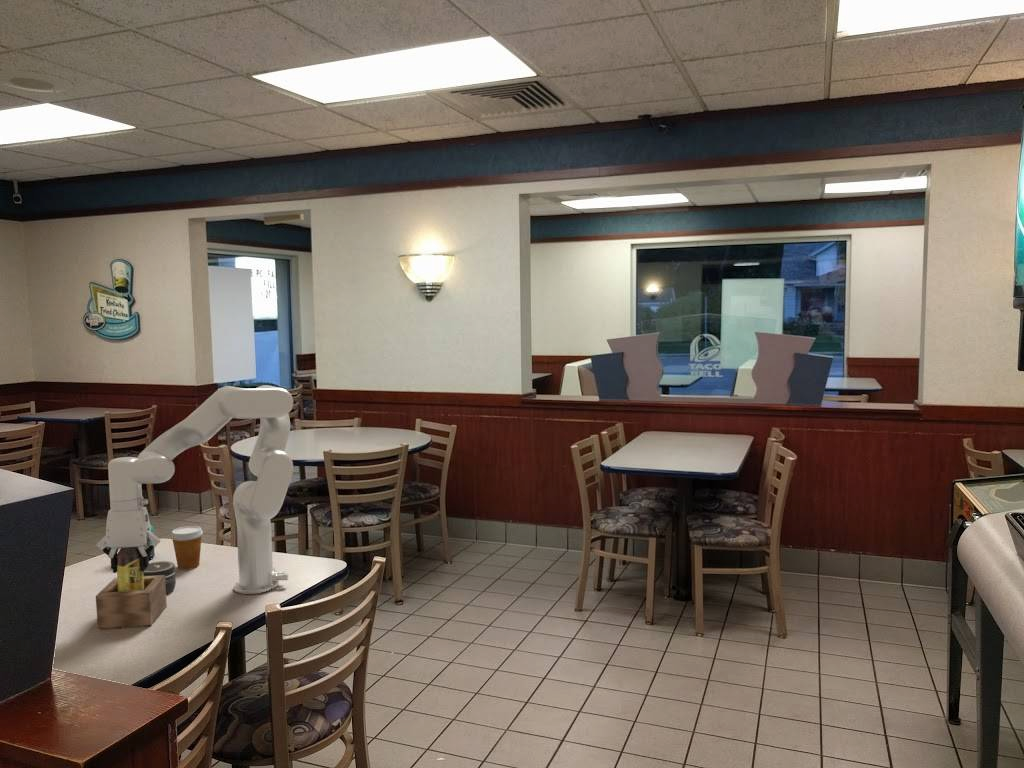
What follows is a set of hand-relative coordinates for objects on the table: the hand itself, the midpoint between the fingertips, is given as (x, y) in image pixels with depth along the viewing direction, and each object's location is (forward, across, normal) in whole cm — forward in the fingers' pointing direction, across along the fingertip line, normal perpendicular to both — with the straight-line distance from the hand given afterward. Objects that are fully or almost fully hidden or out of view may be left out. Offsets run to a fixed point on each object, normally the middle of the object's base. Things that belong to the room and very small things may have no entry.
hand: (130, 569), depth 197 cm
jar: (+13, -1, -19) cm, 23 cm away
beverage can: (+13, +13, -50) cm, 53 cm away
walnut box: (+13, 0, 0) cm, 13 cm away
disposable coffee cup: (+13, -4, -40) cm, 42 cm away
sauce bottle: (+9, 0, 0) cm, 9 cm away
